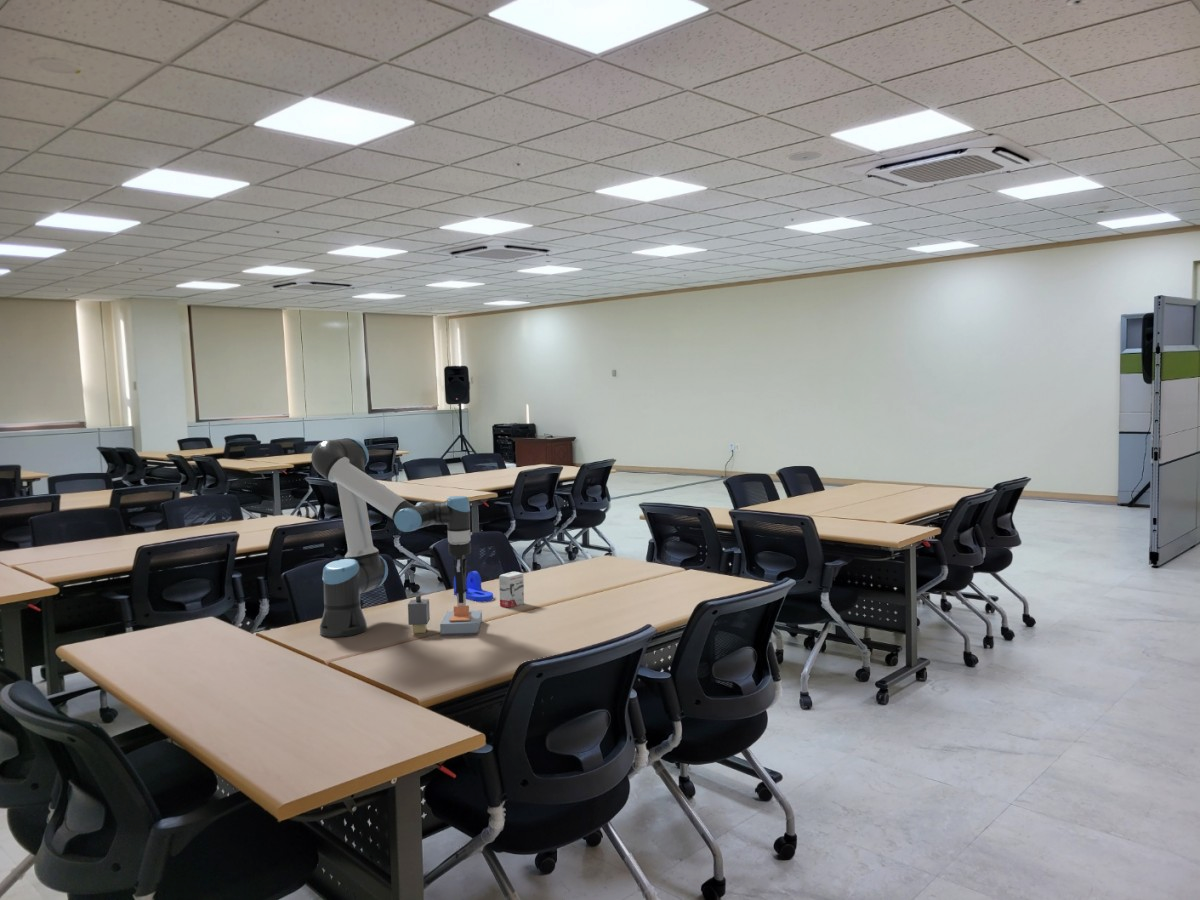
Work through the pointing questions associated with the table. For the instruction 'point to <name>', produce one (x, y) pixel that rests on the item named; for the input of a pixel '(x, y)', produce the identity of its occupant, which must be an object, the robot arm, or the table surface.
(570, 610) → the table surface
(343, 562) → the robot arm
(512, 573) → the ink box
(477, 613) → the socket
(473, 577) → the bracket
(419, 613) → the plug
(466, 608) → the shutter
